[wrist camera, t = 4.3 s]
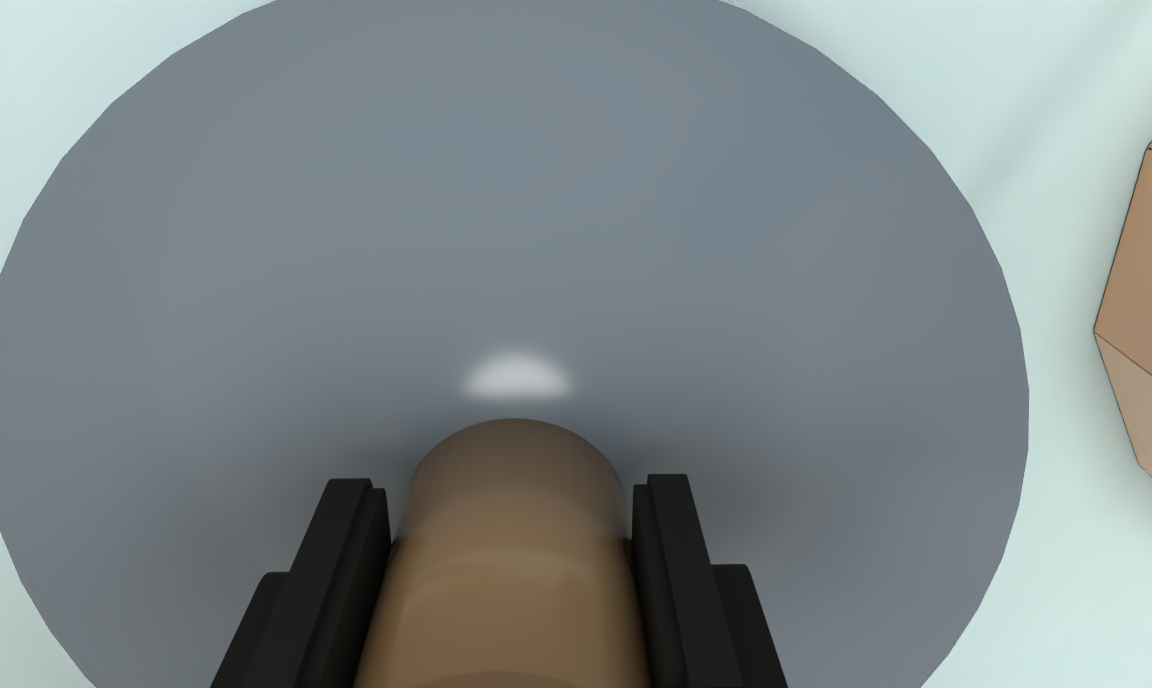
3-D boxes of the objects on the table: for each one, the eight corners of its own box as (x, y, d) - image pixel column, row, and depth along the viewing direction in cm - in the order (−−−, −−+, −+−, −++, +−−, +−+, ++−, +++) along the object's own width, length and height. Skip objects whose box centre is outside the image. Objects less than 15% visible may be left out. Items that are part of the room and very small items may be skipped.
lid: (912, 792, 18) (1080, 1176, 12) (141, 815, 18) (-56, 1220, 12) (1095, -45, 11) (1628, -60, 6) (-118, -39, 11) (-820, -50, 5)
